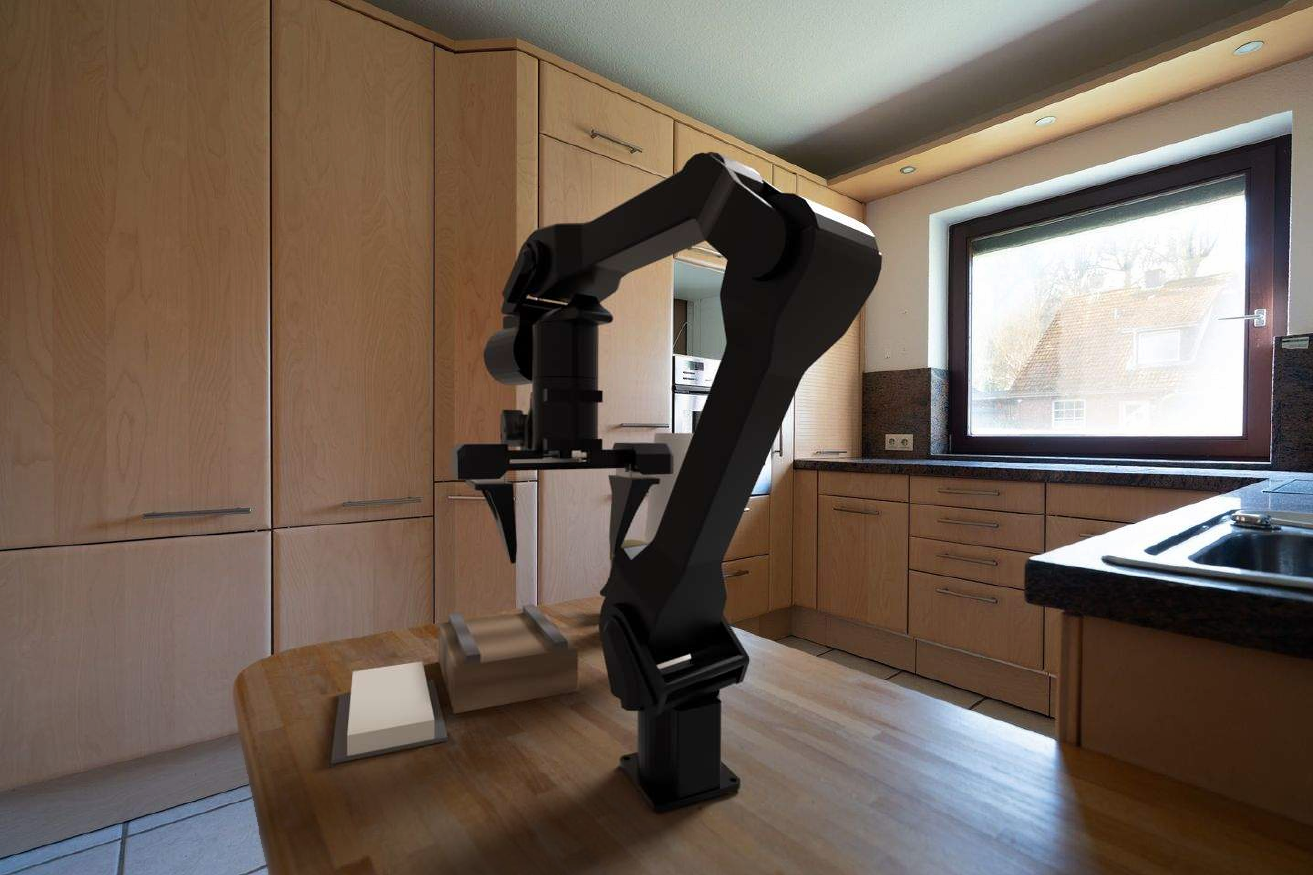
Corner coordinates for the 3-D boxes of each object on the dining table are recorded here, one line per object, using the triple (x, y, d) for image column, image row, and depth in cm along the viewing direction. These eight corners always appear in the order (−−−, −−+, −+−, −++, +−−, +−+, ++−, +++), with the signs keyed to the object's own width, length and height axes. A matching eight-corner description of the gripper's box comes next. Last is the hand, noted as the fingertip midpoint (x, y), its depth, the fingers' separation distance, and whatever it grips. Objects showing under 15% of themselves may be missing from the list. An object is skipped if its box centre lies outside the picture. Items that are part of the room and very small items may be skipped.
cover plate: (434, 738, 47) (434, 719, 47) (347, 755, 44) (347, 735, 44) (422, 676, 59) (422, 661, 59) (352, 687, 56) (352, 671, 56)
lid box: (577, 690, 56) (578, 639, 56) (453, 713, 52) (454, 657, 52) (542, 645, 68) (542, 603, 68) (438, 661, 63) (438, 615, 63)
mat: (447, 740, 47) (447, 736, 47) (331, 763, 44) (331, 759, 44) (433, 682, 58) (433, 679, 58) (339, 697, 55) (339, 694, 55)
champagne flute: (649, 672, 61) (650, 433, 61) (640, 648, 67) (641, 432, 67) (714, 668, 62) (715, 433, 62) (699, 645, 68) (700, 433, 68)
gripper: (628, 389, 64) (628, 536, 64) (443, 382, 56) (442, 550, 56) (676, 381, 54) (675, 556, 54) (458, 372, 46) (458, 576, 46)
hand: (564, 558), depth 53 cm, fingers open, 9 cm apart
